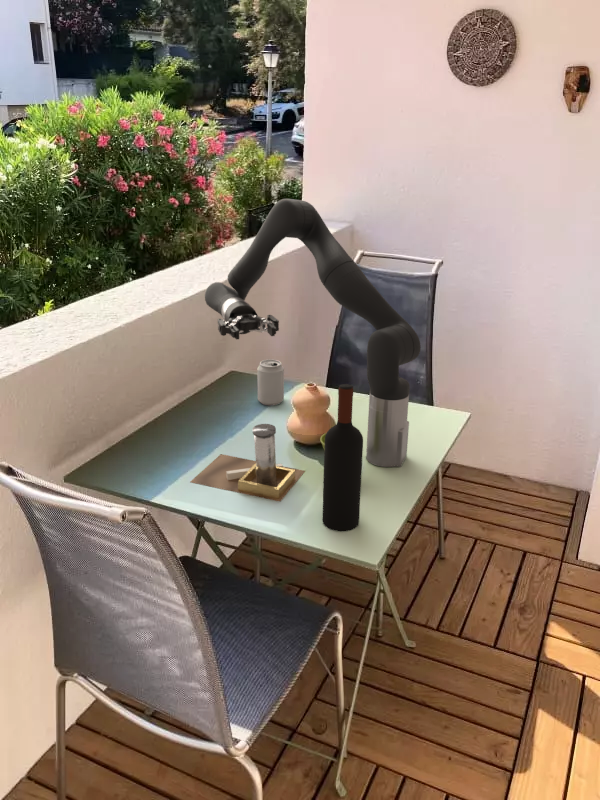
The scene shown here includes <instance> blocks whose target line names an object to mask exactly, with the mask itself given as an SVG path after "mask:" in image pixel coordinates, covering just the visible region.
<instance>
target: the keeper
mask: <svg viewBox="0 0 600 800" xmlns="http://www.w3.org/2000/svg"><path fill="white" fill-rule="evenodd" d="M255 477H256V463H255V464H254V465H253V466H252V467H251V468H250V469H249V470H248V471H247V472H246V473H245V475H244V476H243V477H242V478H241V479H240V480H239V481H238V491H242V492H247V493H251V494H256V495H261V496H265V497H270V498H275V499H279V498H280V497H281V496H282V495H283V493H284V492H285V491H286V490H287V489H288V487H289V486H290V485H291V484H292V483H293V481H294V480H295V470H293V469H288V468H283V467H278V466H276V477H277V478H282V479H283V480H282V481H281V483H280V484H279V485H278V486H277V487H273V486H269V485H264V484H259V483H254V482H251V481H252V480H253V479H254V478H255Z"/></svg>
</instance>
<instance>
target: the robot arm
mask: <svg viewBox="0 0 600 800" xmlns="http://www.w3.org/2000/svg"><path fill="white" fill-rule="evenodd" d="M285 238H292V239H297V240H299V241H300V242H301V243H303V244H304V246H305V247H306V248H307V250H308V251H310V252H311V255H312V257H313V258H314V259H315V264H316V269H317V274H318V278H319V280H320V282H321V283H322V285H323V287H324V288H325V289H326V291H327V292H328V293H329V294H330V296H331V297H332V298H333V299H334V300H335V301H336V303H338V304H339V305H340V306H341V307H343V308H345V309H347V310H348V311H350V312H352V313H353V314H355V315H357V316H359V317H361V318H362V319H364V321H367V322H368V323H369V324H370V325H371V326H372V327H373V328H374V330H375V331H373V332H372V333H371V334H370V335H369V338H368V342H367V346H366V347H367V348H366V377H367V381H368V385H369V399H368V417H367V435H366V436H367V437H366V454H365V455H366V456H365V459H366V461H368V463H370V464H372V465H375V466H377V467H383V468H392V467H393V468H394V467H398V468H401V467H402V465H403V463H404V462H405V461H406V458H407V455H408V442H409V428H410V427H409V426H410V421H408V415H409V414H408V413H409V412H408V411H409V403H410V402H409V401H410V400H409V399H410V389H411V388H410V383H409V381H408V380H407V379H406V378H403V377H400V372H399V371H400V366H402V365H405V364H407V363H410V362H413V361H414V360H416V359H417V358H418V357H419V355H420V352H421V350H422V349H421V348H422V347H421V342H420V338H419V336H418V334H417V332H416V331H415V329H414V328H413V327H412V326H411V325H410V323H409V322H408V321H407V320H405V319H404V317H403V316H401V315H400V313H398V311H396V310H395V308H393V307H392V306H391V305H390V303H389V302H388V301H387V300H386V299H385V298H384V296H382V294H381V293H380V292H379V290H378V289H377V288H376V287H375V286H374V285H373V284H372V283H371V281H370V280H369V278H368V277H367V276H366V275H365V273H364V272H363V271H362V269H361V268H360V267H359V265H357V263H356V261H354V260H353V258H352V257H351V256H350V255H349V254H348V252H347V251H346V250H345V249H344V248H343V246H342V245H341V243H339V242H338V240H337V239H336V238H335V236H334V235H333V234H332V232H331V231H330V230H329V228H328V225H327V224H326V223H325V221H324V219H323V218H322V217H321V215H320V214H319V212H318V210H317V209H316V208H315V206H314V205H312V204H311V203H310V202H308V201H306V200H301V199H293V198H282V199H280V200H278V201H277V202H276V203H274V205H273V207H272V208H271V209H270V211H269V212H268V214H267V216H266V218H265V220H264V222H263V223H262V225H261V227H260V228H259V230H258V232H257V234H256V235H255V237H254V239H253V240H252V242H251V244H250V246H249V247H248V249H247V250H246V251H245V253H244V254H243V255H242V257H241V258H240V259H239V260H238V262H237V263H236V264H235V265H234V266H233V267H232V269H230V271H229V272H228V274H227V282H228V284H229V285H230V286H228V285H226V284H224V283H223V282H220V281H218V282H217V281H216V282H212V283H211V284H210V285H208V286H207V288H206V290H205V293H204V301H205V303H206V305H207V306H208V307H209V308H210V309H212V310H213V311H215V312H217V313H218V314H219V315H220V316H221V317H222V318H218V319H217V330H218V332H219V335H220V336H223V337H224V336H227V335H228V336H230V337H231V338H233V339H235V340H240V335H246V334H249V333H251V332H258V333H262V334H263V333H265V332H266V333H267V334H269V336H270V337H276V336H275V335H276V334H277V332H279V330H280V328H279V326H280V324H279V323H280V320H279V319H278V318H276V317H275V316H273V315H272V314H267V315H266V317H261V316H259V315H258V313H257V312H256V310H255V308H253V307H252V306H251V305H250V304H249V303H248V302H247V301H246V298H247V296H248V294H249V293H250V290H251V289H252V288H253V287H254V286H255V285H256V283H258V281H259V280H260V279H261V278H262V276H263V275H264V273H265V272H266V270H267V268H268V263H269V259H270V255H271V253H272V252H273V250H274V248H276V247H277V246H278V244H279V243H280V242H282V241H283V240H284V239H285Z"/></svg>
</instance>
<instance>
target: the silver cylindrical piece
mask: <svg viewBox="0 0 600 800" xmlns="http://www.w3.org/2000/svg"><path fill="white" fill-rule="evenodd" d="M276 429H277V428H276V426H275V425H273V424H270V423H260V424H256V425H254V426H253V427H252V435H253V436H254V454H255V457H254V458H255V461H256V476H257V483H259V484H264V485H269V486H273V487H276V485H277V479H276V464H277V463H276V462H277V460H276V437H275V436H276V433H277V431H276Z"/></svg>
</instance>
